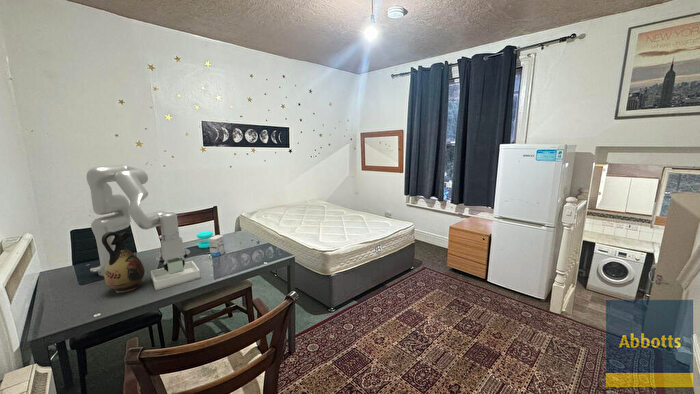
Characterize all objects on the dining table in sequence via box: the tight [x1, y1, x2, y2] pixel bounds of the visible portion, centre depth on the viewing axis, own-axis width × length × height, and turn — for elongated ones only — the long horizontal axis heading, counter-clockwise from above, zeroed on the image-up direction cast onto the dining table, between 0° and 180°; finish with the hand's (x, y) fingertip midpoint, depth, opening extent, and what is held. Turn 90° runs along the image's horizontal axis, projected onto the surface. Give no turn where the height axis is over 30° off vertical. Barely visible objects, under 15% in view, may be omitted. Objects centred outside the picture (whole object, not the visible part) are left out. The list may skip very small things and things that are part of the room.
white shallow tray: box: [149, 260, 201, 291], centre depth 148 cm, size 20×16×4 cm
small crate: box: [167, 257, 184, 275], centre depth 147 cm, size 6×6×6 cm
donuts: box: [196, 230, 214, 249], centre depth 194 cm, size 10×10×10 cm
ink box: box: [208, 234, 226, 257], centre depth 181 cm, size 9×5×12 cm, turn 168°
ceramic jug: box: [102, 231, 145, 294], centre depth 135 cm, size 17×15×30 cm
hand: (175, 268), depth 148 cm, fingers closed on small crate, 6 cm apart
